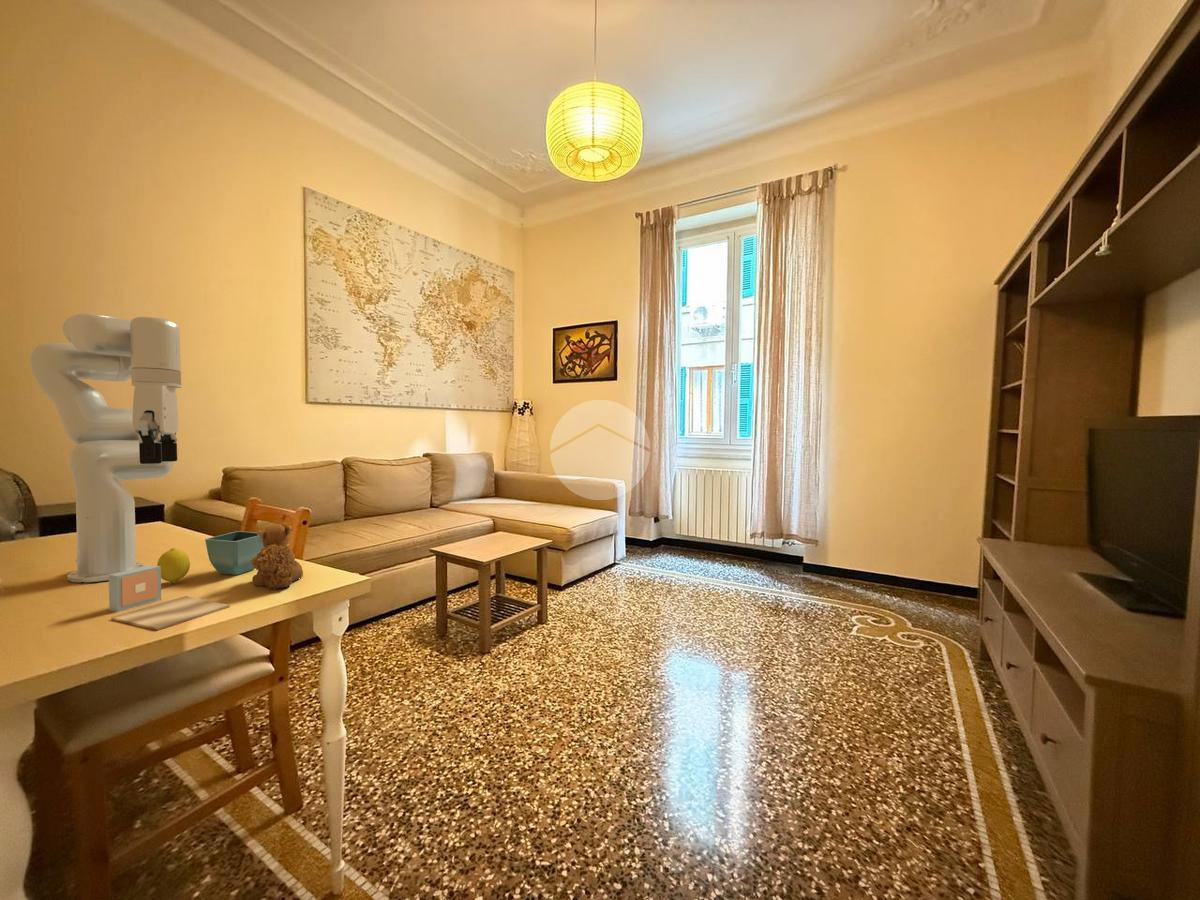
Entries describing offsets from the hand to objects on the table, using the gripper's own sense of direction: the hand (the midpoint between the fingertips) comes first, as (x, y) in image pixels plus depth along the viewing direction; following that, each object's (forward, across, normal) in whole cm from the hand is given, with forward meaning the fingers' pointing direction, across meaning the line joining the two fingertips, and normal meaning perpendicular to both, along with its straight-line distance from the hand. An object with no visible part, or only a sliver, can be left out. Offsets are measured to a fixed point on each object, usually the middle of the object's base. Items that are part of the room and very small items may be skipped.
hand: (159, 462), depth 99 cm
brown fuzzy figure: (+29, 0, +20) cm, 35 cm away
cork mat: (+28, +12, +4) cm, 31 cm away
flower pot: (+28, -14, +10) cm, 33 cm away
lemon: (+28, -10, -1) cm, 30 cm away
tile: (+28, +4, -3) cm, 29 cm away
